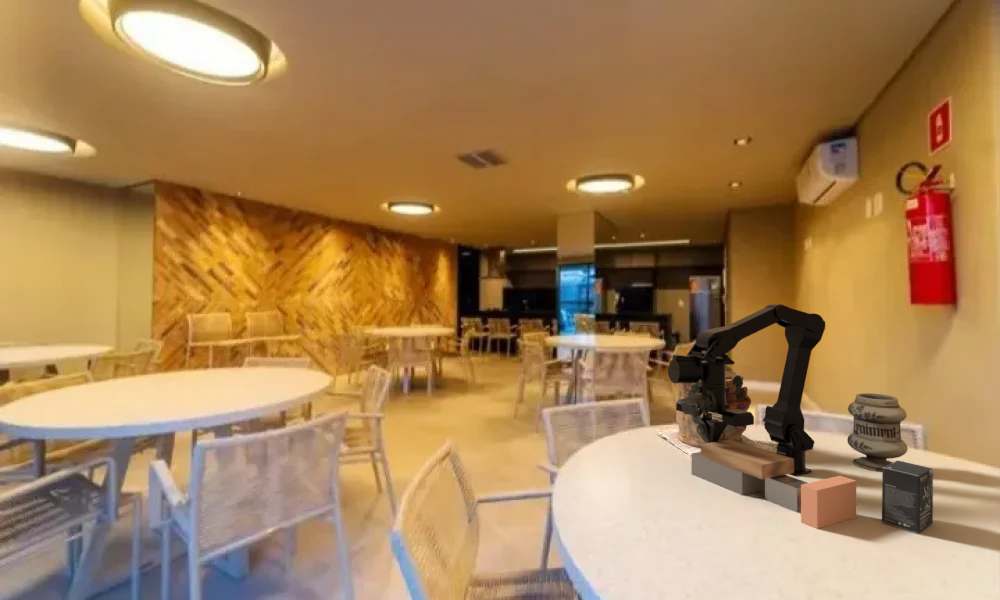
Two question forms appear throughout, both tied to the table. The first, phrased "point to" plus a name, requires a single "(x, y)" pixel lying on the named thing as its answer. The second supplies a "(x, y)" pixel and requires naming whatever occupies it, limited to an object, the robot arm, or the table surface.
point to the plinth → (725, 476)
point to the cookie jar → (737, 398)
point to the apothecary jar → (876, 430)
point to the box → (907, 496)
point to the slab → (748, 459)
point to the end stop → (828, 501)
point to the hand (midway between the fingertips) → (712, 446)
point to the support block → (784, 491)
